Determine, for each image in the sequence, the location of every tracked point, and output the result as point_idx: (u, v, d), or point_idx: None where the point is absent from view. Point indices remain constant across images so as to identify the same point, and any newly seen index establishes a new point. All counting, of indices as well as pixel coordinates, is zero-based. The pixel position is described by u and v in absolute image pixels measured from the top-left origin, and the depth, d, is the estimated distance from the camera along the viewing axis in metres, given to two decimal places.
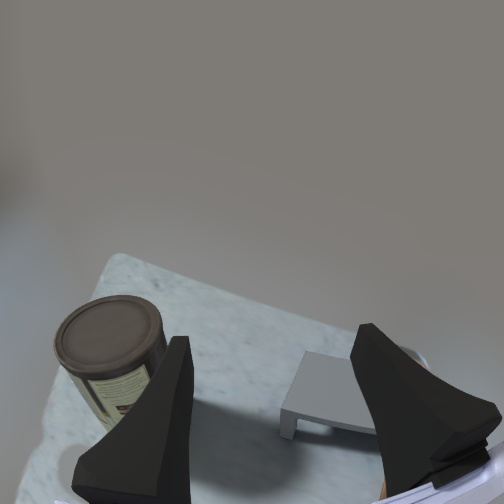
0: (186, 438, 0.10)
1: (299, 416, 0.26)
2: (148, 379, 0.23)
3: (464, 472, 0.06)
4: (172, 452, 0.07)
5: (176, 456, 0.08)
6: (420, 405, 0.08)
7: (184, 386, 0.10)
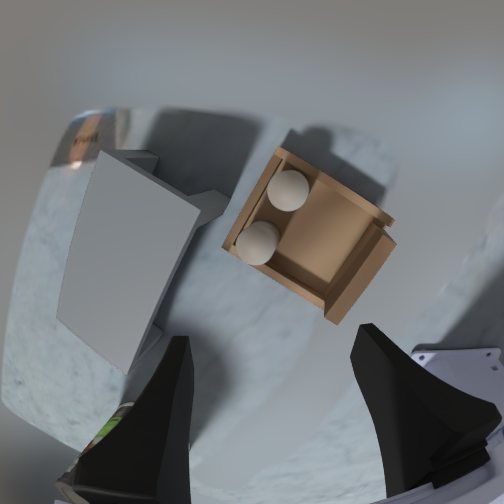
0: (186, 438, 0.10)
1: (135, 358, 0.22)
2: None
3: (464, 472, 0.06)
4: (172, 452, 0.07)
5: (176, 456, 0.08)
6: (420, 405, 0.08)
7: (184, 386, 0.10)
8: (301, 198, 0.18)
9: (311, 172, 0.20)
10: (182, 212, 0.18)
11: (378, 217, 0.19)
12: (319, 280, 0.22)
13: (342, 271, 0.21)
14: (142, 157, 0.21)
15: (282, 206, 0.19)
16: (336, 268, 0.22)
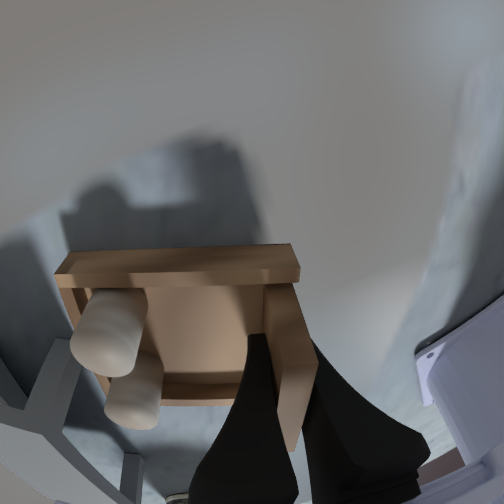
0: None
1: None
2: None
3: None
4: None
5: None
6: (330, 426, 0.08)
7: None
8: (126, 355, 0.09)
9: (119, 283, 0.10)
10: (32, 438, 0.09)
11: (269, 281, 0.11)
12: None
13: None
14: None
15: (114, 372, 0.10)
16: None
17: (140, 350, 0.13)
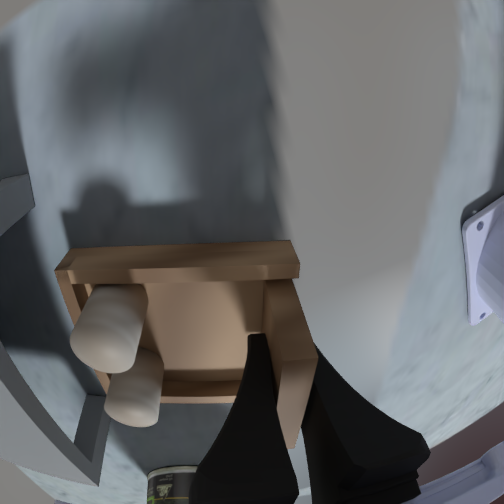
0: None
1: (87, 466, 0.12)
2: None
3: None
4: None
5: None
6: (330, 426, 0.08)
7: None
8: (126, 351, 0.09)
9: (119, 279, 0.10)
10: None
11: (269, 277, 0.11)
12: None
13: None
14: None
15: (114, 368, 0.10)
16: None
17: (140, 347, 0.13)
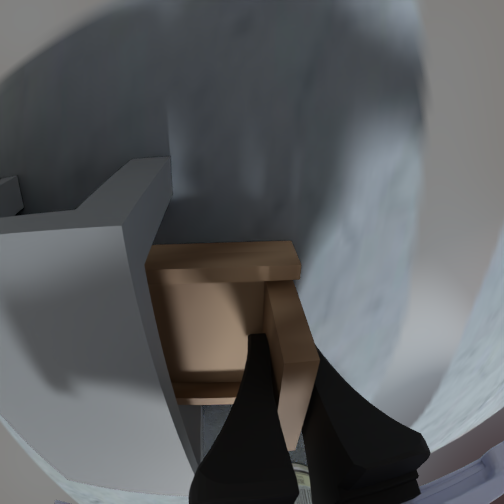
0: None
1: None
2: None
3: None
4: None
5: None
6: (330, 426, 0.08)
7: None
8: None
9: None
10: (83, 260, 0.05)
11: (270, 278, 0.11)
12: None
13: None
14: None
15: None
16: None
17: None
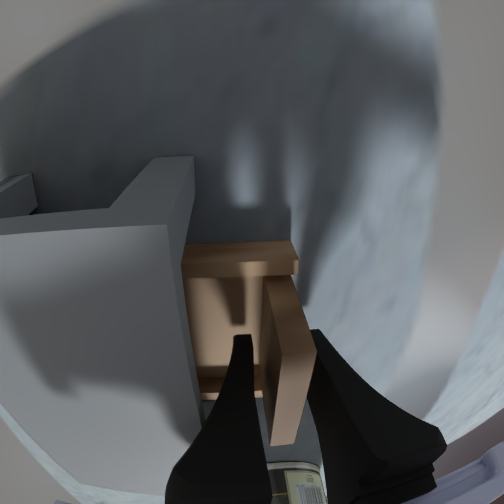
0: None
1: None
2: None
3: (401, 500, 0.06)
4: None
5: None
6: (350, 422, 0.08)
7: None
8: None
9: None
10: (122, 260, 0.05)
11: (268, 273, 0.11)
12: None
13: (263, 360, 0.13)
14: None
15: None
16: (256, 346, 0.14)
17: None
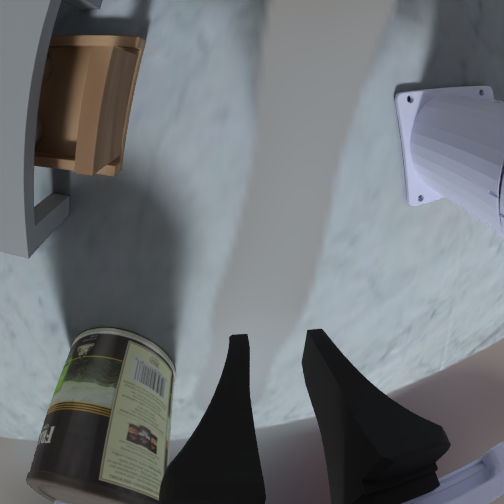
0: None
1: (31, 222, 0.13)
2: (105, 455, 0.14)
3: (405, 498, 0.06)
4: None
5: None
6: (354, 422, 0.08)
7: None
8: None
9: None
10: None
11: (119, 44, 0.13)
12: None
13: None
14: None
15: None
16: None
17: None
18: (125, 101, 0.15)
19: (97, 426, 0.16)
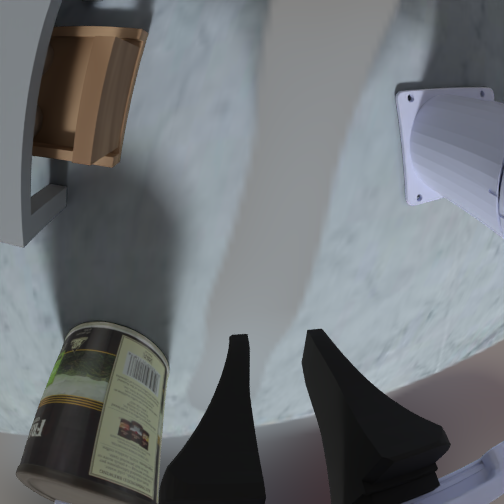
0: None
1: (27, 211, 0.13)
2: (95, 450, 0.14)
3: (404, 498, 0.06)
4: None
5: None
6: (354, 422, 0.08)
7: None
8: None
9: None
10: None
11: (121, 35, 0.12)
12: None
13: None
14: None
15: None
16: None
17: None
18: (125, 92, 0.14)
19: (88, 420, 0.15)
